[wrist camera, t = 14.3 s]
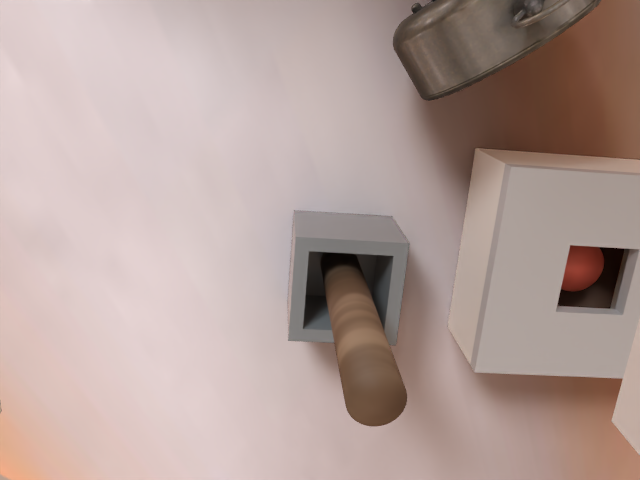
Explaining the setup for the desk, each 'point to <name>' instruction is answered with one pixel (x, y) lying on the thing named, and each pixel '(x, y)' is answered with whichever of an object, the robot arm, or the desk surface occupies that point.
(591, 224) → the white box
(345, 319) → the brown wooden rod
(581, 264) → the button
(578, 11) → the alarm clock
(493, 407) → the desk surface
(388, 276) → the pen cup
